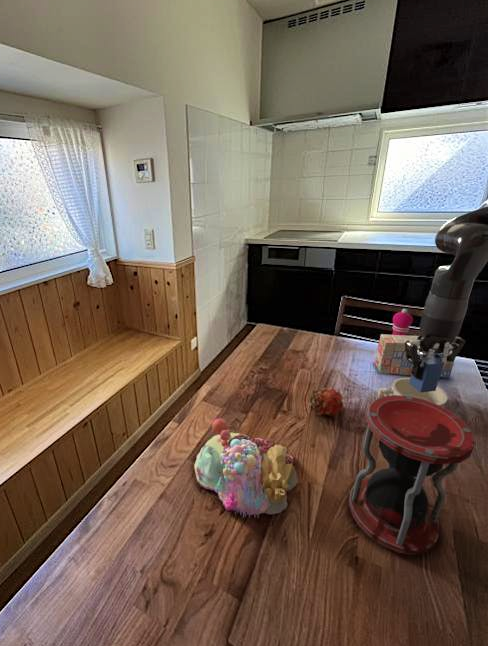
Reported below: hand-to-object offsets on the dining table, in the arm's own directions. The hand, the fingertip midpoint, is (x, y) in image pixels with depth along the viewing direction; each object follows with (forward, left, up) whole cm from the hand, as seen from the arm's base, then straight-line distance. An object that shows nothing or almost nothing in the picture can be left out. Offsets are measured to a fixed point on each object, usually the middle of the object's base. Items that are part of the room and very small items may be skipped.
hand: (425, 376), depth 83 cm
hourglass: (+11, +26, -19) cm, 34 cm away
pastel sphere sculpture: (+42, +21, -19) cm, 51 cm away
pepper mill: (-8, -41, -19) cm, 46 cm away
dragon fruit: (+20, -6, -19) cm, 28 cm away
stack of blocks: (-11, -33, -19) cm, 40 cm away
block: (0, 0, -3) cm, 3 cm away
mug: (-4, -13, -19) cm, 23 cm away
